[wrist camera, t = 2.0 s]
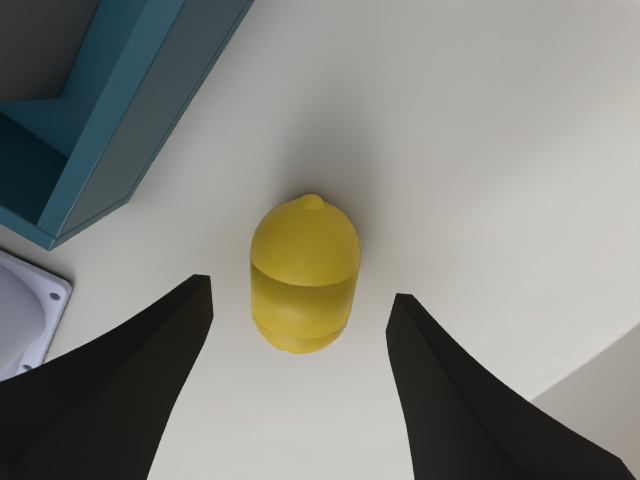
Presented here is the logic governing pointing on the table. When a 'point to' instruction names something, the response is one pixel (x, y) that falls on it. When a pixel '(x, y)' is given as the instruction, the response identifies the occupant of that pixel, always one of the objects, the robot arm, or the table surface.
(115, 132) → the crate
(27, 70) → the grey block
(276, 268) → the lemon
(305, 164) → the table surface
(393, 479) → the table surface
